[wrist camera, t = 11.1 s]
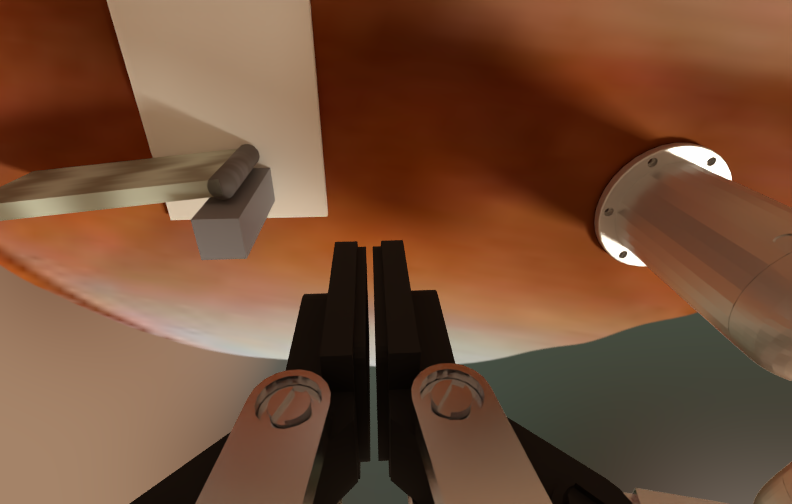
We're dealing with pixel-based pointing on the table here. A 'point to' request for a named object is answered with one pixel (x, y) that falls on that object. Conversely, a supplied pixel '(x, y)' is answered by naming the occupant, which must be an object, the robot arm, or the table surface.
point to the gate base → (230, 105)
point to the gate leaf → (128, 183)
